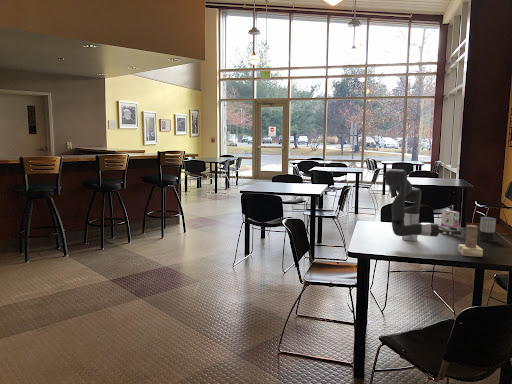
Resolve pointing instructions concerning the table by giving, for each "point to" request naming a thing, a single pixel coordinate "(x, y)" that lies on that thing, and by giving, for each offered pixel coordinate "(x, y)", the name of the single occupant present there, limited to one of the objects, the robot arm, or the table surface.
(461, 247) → the pedestal
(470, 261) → the table surface
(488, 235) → the milk frother
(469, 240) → the walnut block
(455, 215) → the candy bar box
